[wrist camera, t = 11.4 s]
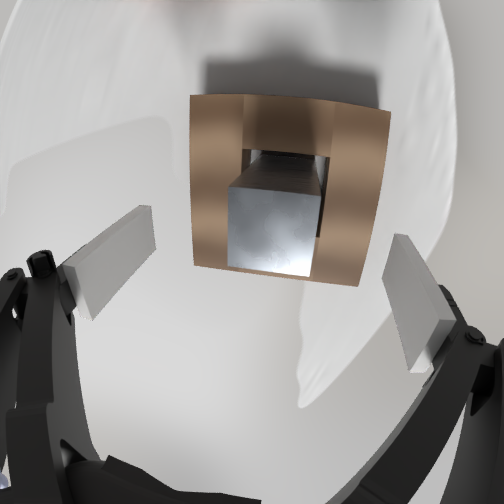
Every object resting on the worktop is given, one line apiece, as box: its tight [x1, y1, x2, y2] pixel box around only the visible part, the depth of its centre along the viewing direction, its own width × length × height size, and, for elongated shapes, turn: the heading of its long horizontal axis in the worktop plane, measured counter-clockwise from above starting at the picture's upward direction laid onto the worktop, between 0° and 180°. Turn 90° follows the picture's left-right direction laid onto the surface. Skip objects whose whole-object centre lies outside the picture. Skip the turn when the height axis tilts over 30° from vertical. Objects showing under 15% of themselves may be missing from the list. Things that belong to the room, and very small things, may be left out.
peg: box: [228, 154, 321, 277], centre depth 21 cm, size 5×5×12 cm
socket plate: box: [190, 94, 391, 287], centre depth 25 cm, size 16×16×4 cm
